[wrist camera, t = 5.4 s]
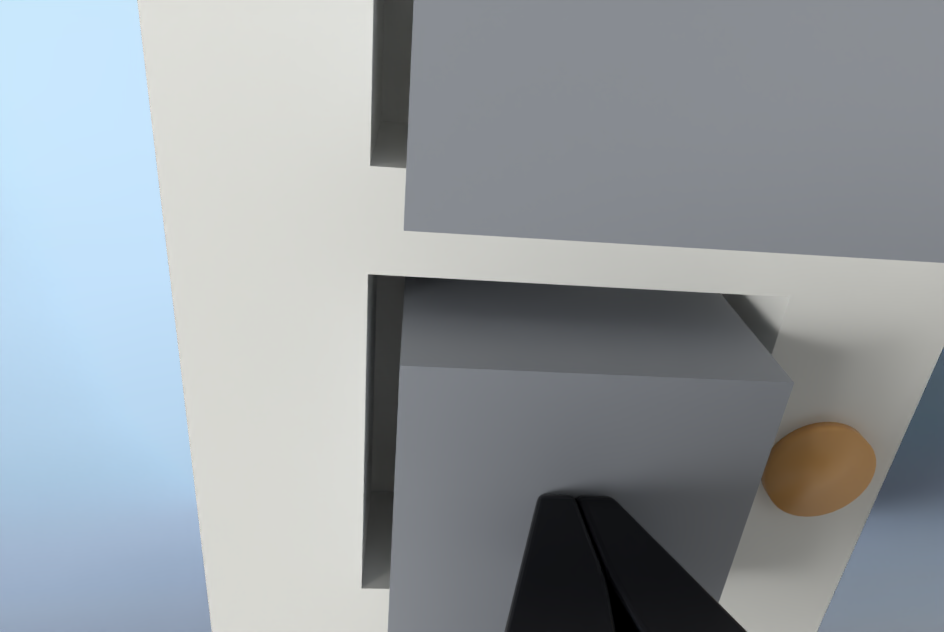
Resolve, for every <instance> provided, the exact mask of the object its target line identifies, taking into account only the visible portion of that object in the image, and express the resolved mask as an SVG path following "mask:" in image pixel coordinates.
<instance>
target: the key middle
mask: <svg viewBox="0 0 944 632" xmlns="http://www.w3.org/2000/svg"><path fill="white" fill-rule="evenodd" d="M404 231H416V232H433V233H450V234H466V235H483V236H500V237H517V238H533V239H550V240H567V241H584V242H601V243H617V244H634V245H651V246H668V247H684V248H701V249H718V250H735V251H751V252H768V253H785V254H802V255H818V256H835V257H852V258H869V259H885V260H902V261H919V262H936V263H944V0H414V3H413V26H412V49H411V71H410V94H409V117H408V140H407V163H406V186H405V208H404Z"/></svg>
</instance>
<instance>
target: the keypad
mask: <svg viewBox="0 0 944 632" xmlns="http://www.w3.org/2000/svg"><path fill="white" fill-rule="evenodd" d="M137 1H138V10H139V18H140V27H141V35H142V44H143V52H144V61H145V69H146V78H147V86H148V94H149V103H150V111H151V120H152V128H153V137H154V145H155V154H156V162H157V171H158V179H159V188H160V196H161V205H162V213H163V222H164V230H165V239H166V247H167V256H168V264H169V272H170V281H171V289H172V298H173V306H174V315H175V323H176V332H177V340H178V349H179V357H180V366H181V374H182V383H183V391H184V400H185V408H186V417H187V425H188V433H189V442H190V450H191V459H192V467H193V476H194V484H195V493H196V501H197V510H198V518H199V527H200V535H201V544H202V552H203V561H204V569H205V578H206V586H207V595H208V603H209V611H210V620H211V628H212V632H388V613H389V591H390V569H391V547H392V525H393V503H394V481H395V458H396V436H397V414H398V392H399V370H400V353H401V337H402V322H403V306H404V290H405V276H410V277H428V278H447V279H465V280H483V281H502V282H520V283H539V284H557V285H576V286H594V287H613V288H631V289H650V290H668V291H687V292H705V293H721V295H722V296H723V297H724V298H725V299H726V301H727V302H728V303H729V304H730V306H731V307H732V308H733V309H734V310H735V312H736V313H737V314H738V315H739V316H740V318H741V319H742V320H743V321H744V322H745V324H746V325H747V326H748V327H749V329H750V330H751V331H752V332H753V333H754V335H755V336H756V337H757V338H758V339H759V341H760V342H761V343H762V344H763V345H764V347H765V348H766V349H767V350H768V352H769V353H770V354H771V355H772V356H773V358H774V359H775V360H776V361H777V362H778V364H779V365H780V366H781V367H782V368H783V370H784V371H785V372H786V373H787V375H788V376H789V377H790V378H791V379H792V381H793V382H794V385H793V388H792V391H791V394H790V397H789V399H788V402H787V405H786V408H785V411H784V414H783V417H782V420H781V423H780V426H779V429H778V431H777V434H776V437H775V440H774V443H773V446H772V449H771V452H770V455H769V458H768V461H767V463H766V466H765V469H764V472H763V475H762V478H761V481H760V484H759V487H758V490H757V493H756V495H755V498H754V501H753V504H752V507H751V510H750V513H749V516H748V519H747V522H746V525H745V527H744V530H743V533H742V536H741V539H740V542H739V545H738V548H737V551H736V554H735V557H734V559H733V562H732V565H731V568H730V571H729V574H728V577H727V580H726V583H725V586H724V589H723V591H722V594H721V597H720V600H719V604H720V605H721V606H722V607H723V608H724V609H725V610H726V611H727V612H728V613H729V614H730V615H731V616H732V617H733V618H734V619H735V620H736V621H737V622H738V623H739V624H740V625H741V626H742V627H743V628H744V629H745V630H746V631H747V632H817V631H818V628H819V626H820V624H821V622H822V619H823V617H824V615H825V613H826V610H827V608H828V606H829V604H830V601H831V599H832V597H833V595H834V592H835V590H836V588H837V586H838V583H839V581H840V579H841V577H842V574H843V572H844V570H845V568H846V565H847V563H848V561H849V559H850V556H851V554H852V552H853V550H854V547H855V545H856V543H857V541H858V538H859V536H860V534H861V532H862V529H863V527H864V525H865V523H866V520H867V518H868V516H869V514H870V511H871V509H872V507H873V505H874V502H875V500H876V498H877V496H878V493H879V491H880V489H881V487H882V484H883V482H884V480H885V478H886V475H887V473H888V471H889V469H890V466H891V464H892V462H893V460H894V457H895V455H896V453H897V451H898V448H899V446H900V444H901V442H902V439H903V437H904V435H905V433H906V430H907V428H908V426H909V424H910V421H911V419H912V417H913V415H914V412H915V410H916V408H917V406H918V403H919V401H920V399H921V397H922V394H923V392H924V390H925V388H926V385H927V383H928V381H929V379H930V376H931V374H932V372H933V370H934V367H935V365H936V363H937V361H938V358H939V356H940V354H941V352H942V349H943V347H944V263H936V262H919V261H902V260H885V259H869V258H852V257H835V256H818V255H802V254H785V253H768V252H751V251H735V250H718V249H701V248H684V247H668V246H651V245H634V244H617V243H601V242H584V241H567V240H550V239H533V238H517V237H500V236H483V235H466V234H450V233H433V232H416V231H404V208H405V186H406V163H407V140H408V117H409V94H410V71H411V49H412V26H413V3H414V0H137Z"/></svg>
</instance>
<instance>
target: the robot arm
mask: <svg viewBox="0 0 944 632" xmlns="http://www.w3.org/2000/svg"><path fill="white" fill-rule="evenodd" d="M504 632H747V631H746V630H745V629H744V628H743V627H742V626H741V625H740V624H739V623H738V622H737V621H736V620H735V619H734V618H733V617H732V616H731V615H730V614H729V613H728V612H727V611H726V610H725V609H724V608H723V607H722V606H721V605H720V604H719V603H718V602H717V601H716V600H715V599H714V598H713V597H712V596H711V595H710V594H709V593H708V592H707V591H706V590H705V589H704V588H703V587H702V586H701V585H700V584H699V583H698V582H697V581H696V580H695V579H694V578H693V577H692V576H691V575H690V574H689V573H688V572H687V571H686V570H685V569H684V568H683V567H682V566H681V565H680V564H679V563H678V562H677V561H676V560H675V559H674V558H673V557H672V556H671V555H670V554H669V553H668V552H667V551H666V550H665V549H664V548H663V547H662V546H661V545H660V544H659V543H658V542H657V541H656V540H655V539H654V538H653V537H652V536H651V535H650V534H649V533H648V532H647V531H646V530H645V529H644V528H643V527H642V526H641V525H640V524H639V523H638V522H637V521H636V520H635V519H634V518H633V517H632V516H631V515H630V514H629V513H628V512H627V511H626V510H625V509H624V508H623V507H622V506H621V505H620V504H619V503H618V502H617V501H616V500H615V499H613V498H612V497H608V496H587V495H581V496H579V497H577V498H576V499H575V498H573V497H572V496H571V495H552V494H542V495H540V496H539V497H538V499H537V501H536V505H535V509H534V513H533V517H532V522H531V526H530V530H529V534H528V538H527V542H526V546H525V550H524V554H523V558H522V562H521V566H520V570H519V574H518V578H517V582H516V586H515V590H514V594H513V598H512V602H511V606H510V610H509V614H508V618H507V622H506V626H505V630H504Z"/></svg>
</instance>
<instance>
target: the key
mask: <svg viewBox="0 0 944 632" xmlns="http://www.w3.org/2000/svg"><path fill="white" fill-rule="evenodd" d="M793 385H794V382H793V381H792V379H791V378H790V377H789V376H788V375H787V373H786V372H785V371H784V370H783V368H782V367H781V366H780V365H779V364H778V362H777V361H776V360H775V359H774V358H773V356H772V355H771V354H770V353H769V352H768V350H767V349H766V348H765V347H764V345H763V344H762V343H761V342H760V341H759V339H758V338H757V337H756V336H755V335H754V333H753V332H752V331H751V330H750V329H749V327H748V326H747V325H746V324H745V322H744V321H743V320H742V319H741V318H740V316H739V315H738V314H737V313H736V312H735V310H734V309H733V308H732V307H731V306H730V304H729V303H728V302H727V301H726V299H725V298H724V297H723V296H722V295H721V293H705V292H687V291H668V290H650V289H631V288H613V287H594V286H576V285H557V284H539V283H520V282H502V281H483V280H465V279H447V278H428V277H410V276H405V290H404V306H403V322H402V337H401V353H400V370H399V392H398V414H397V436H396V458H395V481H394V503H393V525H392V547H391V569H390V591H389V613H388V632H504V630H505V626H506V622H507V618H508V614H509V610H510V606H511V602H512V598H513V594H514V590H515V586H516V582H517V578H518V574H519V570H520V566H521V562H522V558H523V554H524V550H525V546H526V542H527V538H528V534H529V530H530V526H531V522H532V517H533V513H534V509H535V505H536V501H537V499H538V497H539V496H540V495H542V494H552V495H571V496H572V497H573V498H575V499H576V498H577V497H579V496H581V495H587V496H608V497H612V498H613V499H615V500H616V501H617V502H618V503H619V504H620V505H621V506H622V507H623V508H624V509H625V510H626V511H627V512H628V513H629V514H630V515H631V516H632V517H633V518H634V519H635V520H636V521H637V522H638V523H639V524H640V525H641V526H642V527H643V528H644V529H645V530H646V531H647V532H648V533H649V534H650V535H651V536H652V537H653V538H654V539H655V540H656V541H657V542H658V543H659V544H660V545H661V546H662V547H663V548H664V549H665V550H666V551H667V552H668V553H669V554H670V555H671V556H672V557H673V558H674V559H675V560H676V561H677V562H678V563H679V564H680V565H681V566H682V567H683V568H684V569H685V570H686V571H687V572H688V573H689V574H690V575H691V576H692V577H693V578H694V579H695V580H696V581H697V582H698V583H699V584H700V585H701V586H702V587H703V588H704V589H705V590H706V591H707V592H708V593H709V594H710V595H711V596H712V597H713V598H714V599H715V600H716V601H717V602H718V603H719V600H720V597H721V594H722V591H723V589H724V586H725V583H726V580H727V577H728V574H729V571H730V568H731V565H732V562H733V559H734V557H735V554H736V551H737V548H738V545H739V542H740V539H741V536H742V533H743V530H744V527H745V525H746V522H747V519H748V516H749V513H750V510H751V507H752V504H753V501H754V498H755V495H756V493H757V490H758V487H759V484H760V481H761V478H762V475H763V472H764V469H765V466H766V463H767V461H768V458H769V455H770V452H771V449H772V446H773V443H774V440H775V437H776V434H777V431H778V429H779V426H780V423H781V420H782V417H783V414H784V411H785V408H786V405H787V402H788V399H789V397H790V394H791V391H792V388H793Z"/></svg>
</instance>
